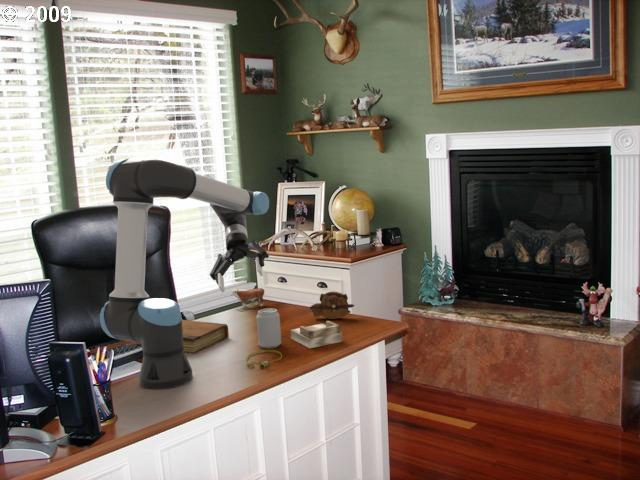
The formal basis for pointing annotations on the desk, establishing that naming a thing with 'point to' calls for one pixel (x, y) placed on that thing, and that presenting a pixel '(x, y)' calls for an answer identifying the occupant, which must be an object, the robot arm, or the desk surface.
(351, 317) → the desk surface
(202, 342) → the diary
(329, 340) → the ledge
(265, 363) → the torc
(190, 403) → the desk surface
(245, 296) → the bull figurine
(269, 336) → the can
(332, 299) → the wooden carving
